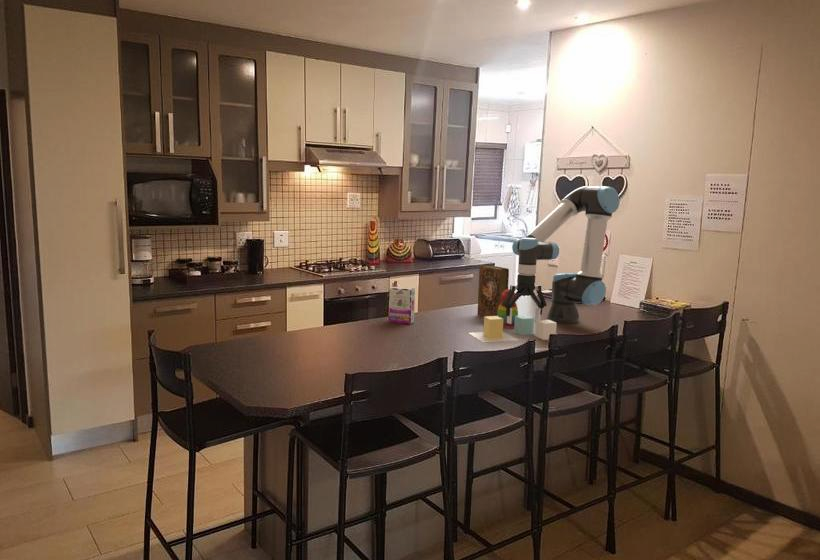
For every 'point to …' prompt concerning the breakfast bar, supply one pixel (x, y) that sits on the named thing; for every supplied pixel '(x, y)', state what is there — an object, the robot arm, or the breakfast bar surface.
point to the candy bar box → (401, 305)
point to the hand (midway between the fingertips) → (523, 322)
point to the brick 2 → (545, 329)
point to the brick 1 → (524, 325)
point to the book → (491, 289)
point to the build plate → (485, 339)
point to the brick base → (493, 327)
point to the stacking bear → (502, 311)
